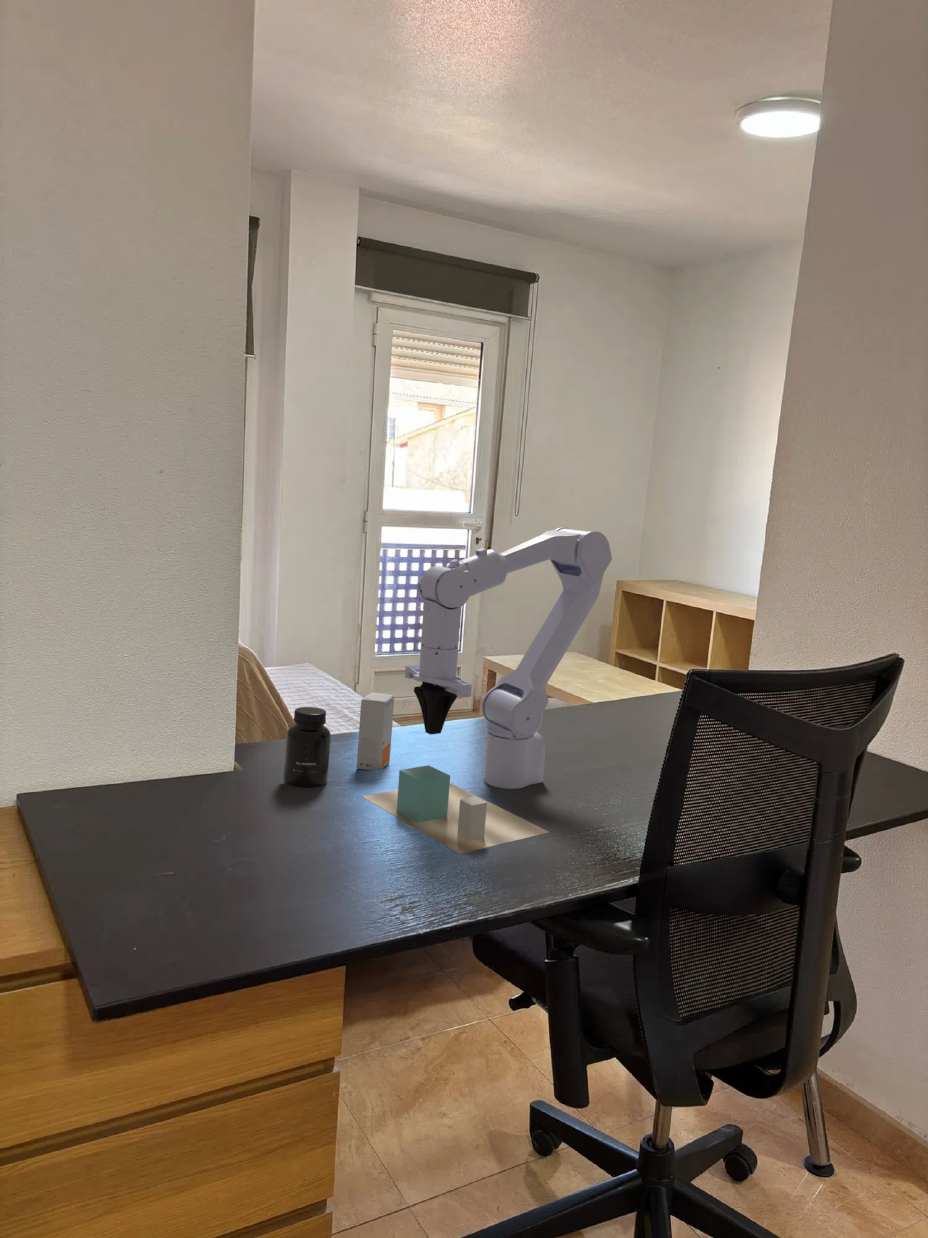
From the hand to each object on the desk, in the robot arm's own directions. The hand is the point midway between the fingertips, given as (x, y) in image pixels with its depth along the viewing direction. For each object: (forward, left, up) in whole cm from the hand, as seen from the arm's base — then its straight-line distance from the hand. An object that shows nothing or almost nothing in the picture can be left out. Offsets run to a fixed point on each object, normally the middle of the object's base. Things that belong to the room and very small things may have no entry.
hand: (433, 733), depth 140 cm
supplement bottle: (+15, -12, -10) cm, 22 cm away
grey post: (+6, +18, -9) cm, 21 cm away
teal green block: (+7, +8, -9) cm, 14 cm away
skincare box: (0, -16, -10) cm, 19 cm away
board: (+3, +10, -10) cm, 14 cm away
